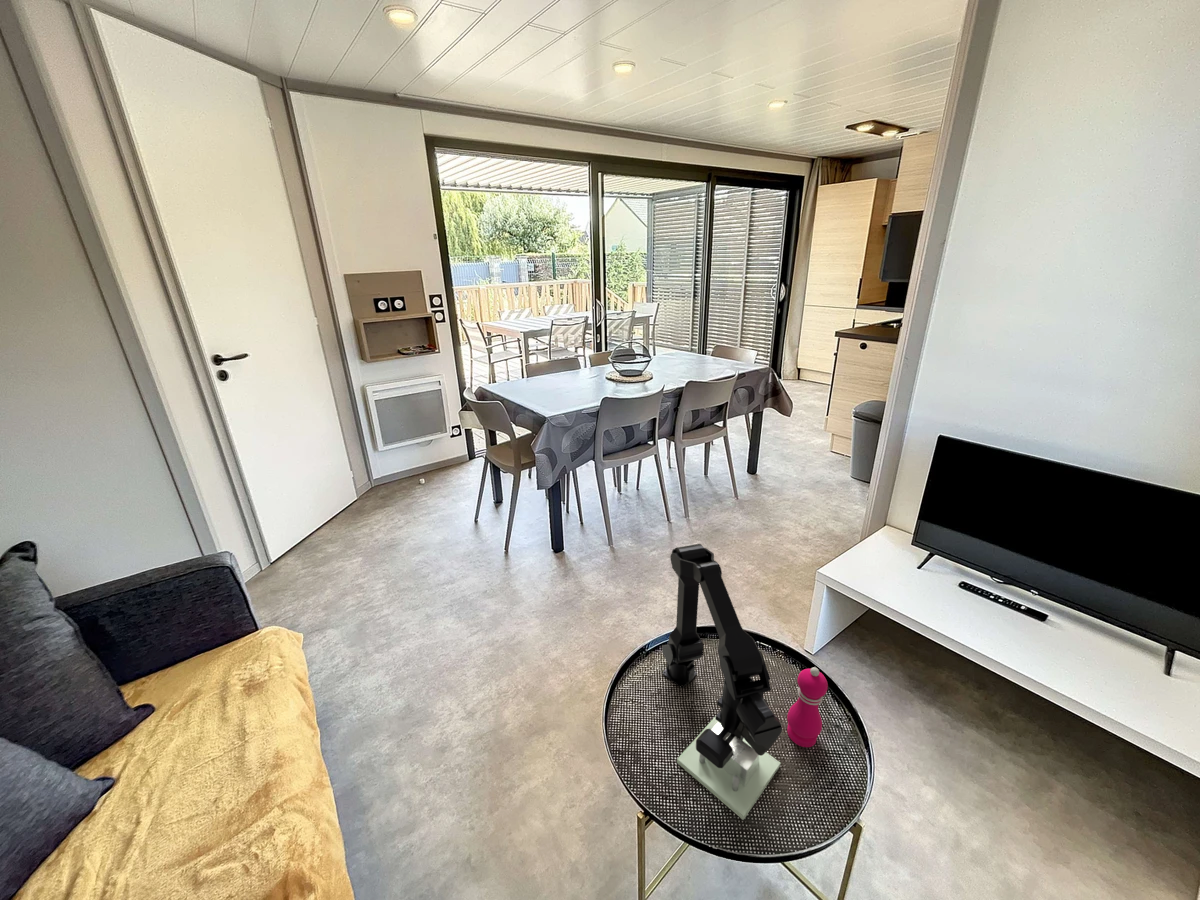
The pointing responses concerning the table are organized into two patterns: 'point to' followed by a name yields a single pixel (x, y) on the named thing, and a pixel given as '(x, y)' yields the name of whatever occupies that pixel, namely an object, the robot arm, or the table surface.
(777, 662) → the table surface
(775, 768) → the pale green peg board
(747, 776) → the block
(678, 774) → the table surface
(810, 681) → the pepper mill
